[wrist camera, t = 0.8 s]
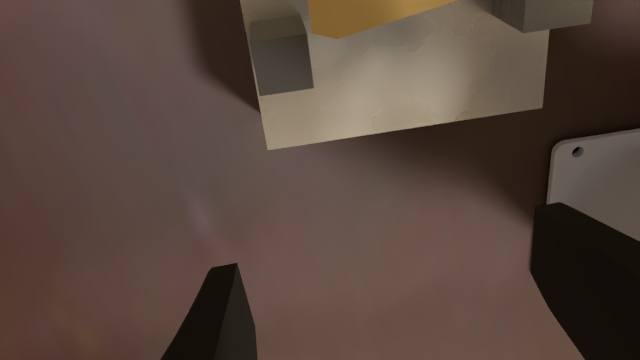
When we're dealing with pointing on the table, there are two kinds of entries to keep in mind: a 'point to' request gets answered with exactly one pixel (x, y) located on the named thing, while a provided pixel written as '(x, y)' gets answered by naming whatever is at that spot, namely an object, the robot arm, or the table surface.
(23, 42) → the table surface
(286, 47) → the lug
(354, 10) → the golden yellow flat bar
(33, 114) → the table surface
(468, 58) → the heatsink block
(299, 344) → the table surface
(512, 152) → the table surface
